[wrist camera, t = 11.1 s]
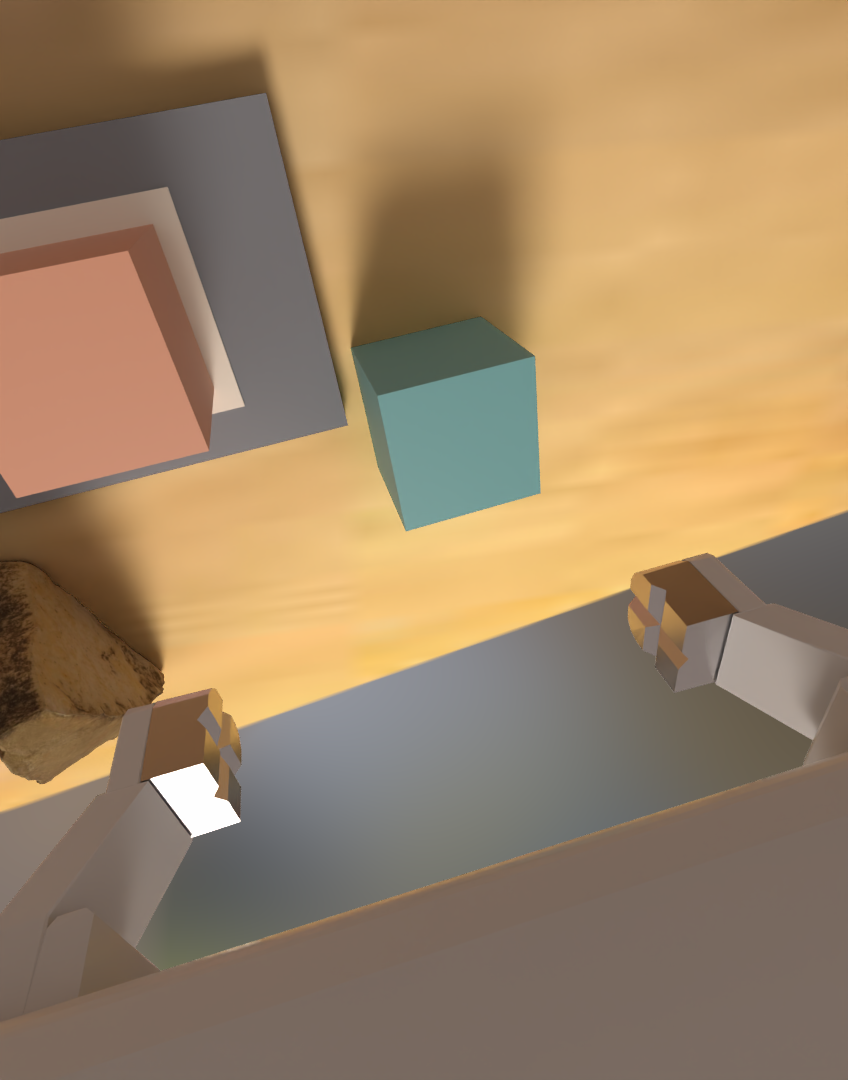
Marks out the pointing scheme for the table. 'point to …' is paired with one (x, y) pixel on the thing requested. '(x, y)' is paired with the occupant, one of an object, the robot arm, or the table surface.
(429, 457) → the teal block
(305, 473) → the table surface
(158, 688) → the rock
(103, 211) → the grey flat plate
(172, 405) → the terracotta block
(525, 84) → the table surface
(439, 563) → the table surface
